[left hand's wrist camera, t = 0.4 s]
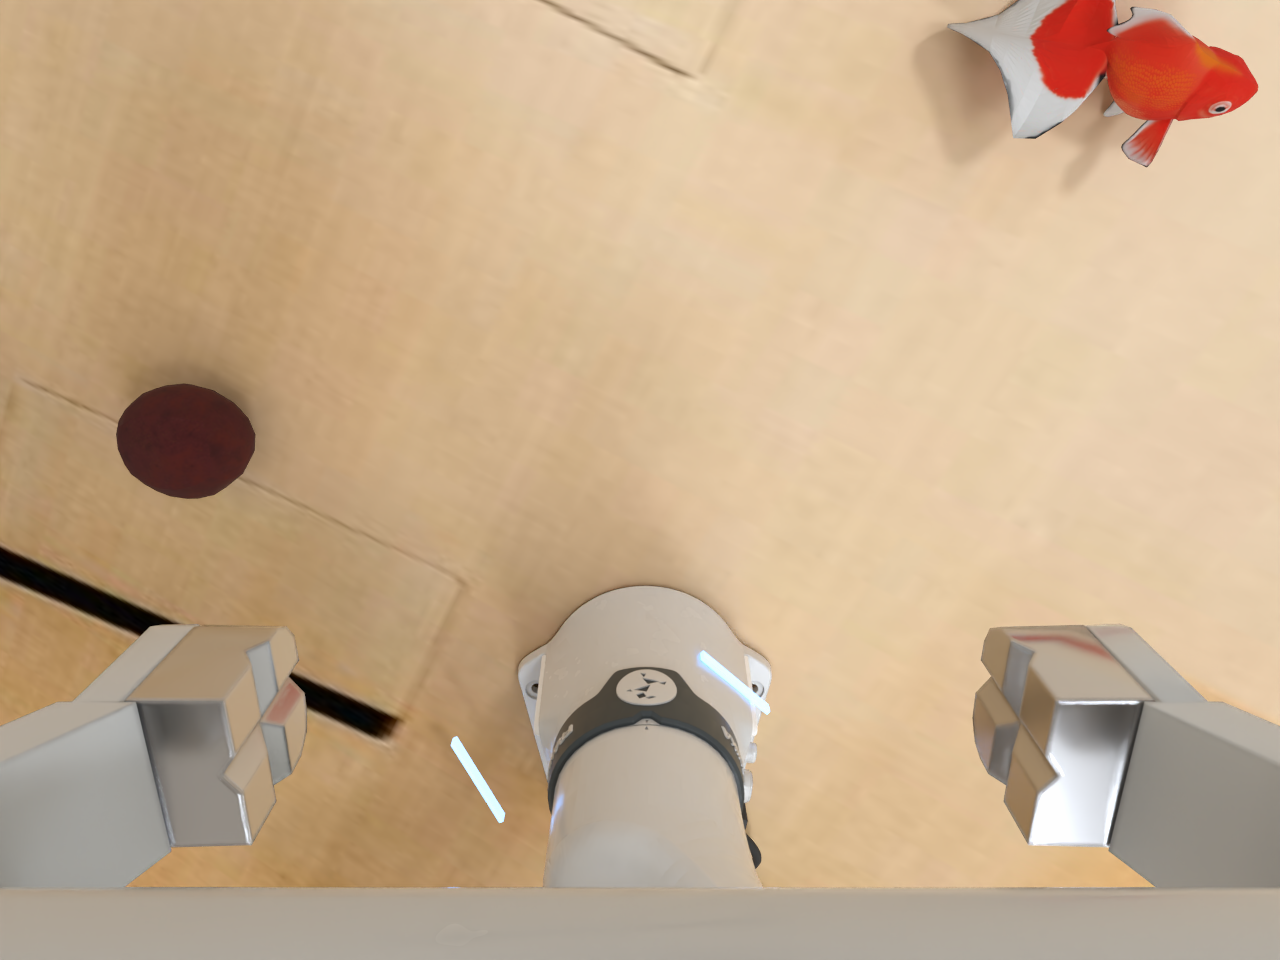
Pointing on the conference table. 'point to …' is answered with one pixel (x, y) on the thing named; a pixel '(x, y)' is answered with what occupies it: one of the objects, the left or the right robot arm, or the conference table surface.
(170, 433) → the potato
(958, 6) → the conference table surface
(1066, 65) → the fish
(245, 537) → the conference table surface
